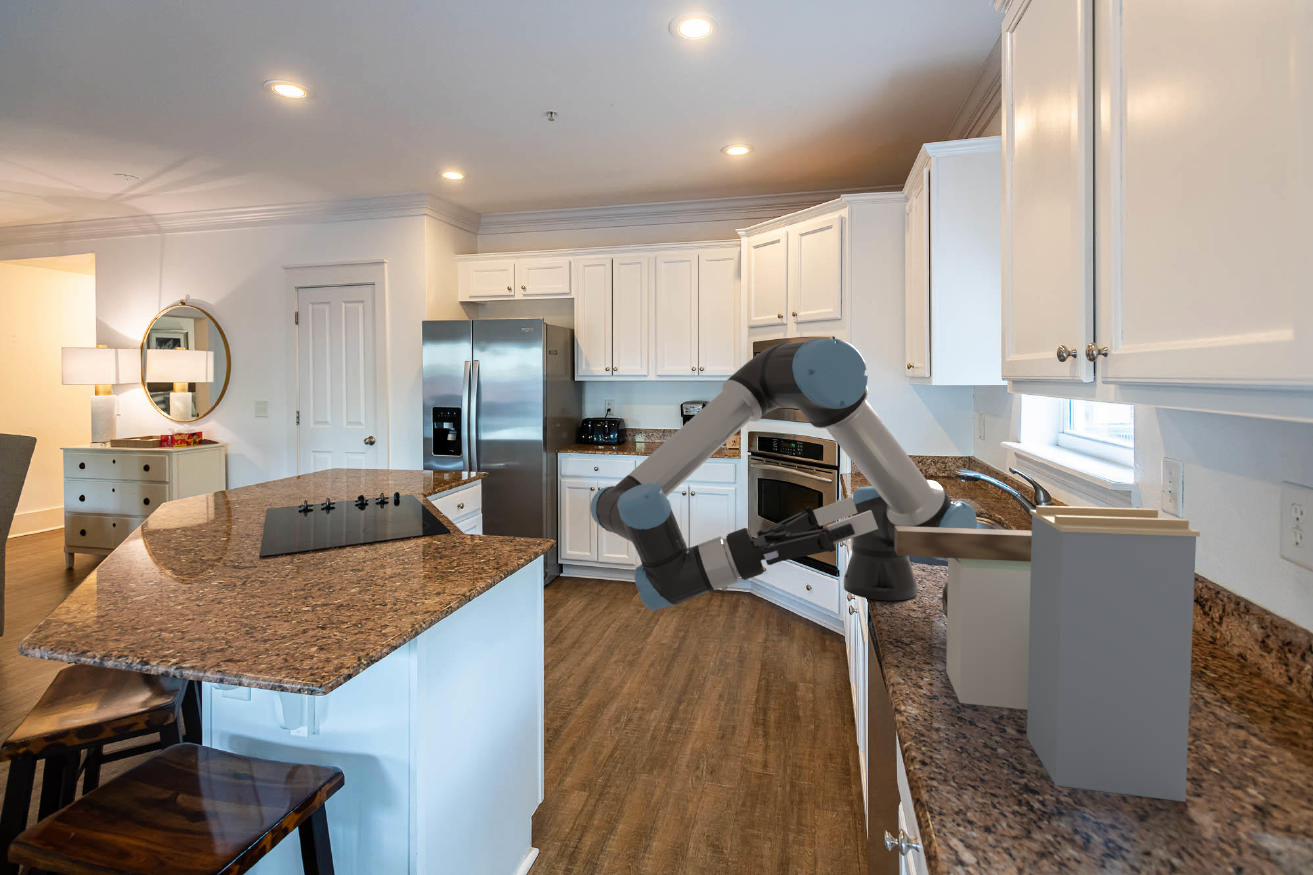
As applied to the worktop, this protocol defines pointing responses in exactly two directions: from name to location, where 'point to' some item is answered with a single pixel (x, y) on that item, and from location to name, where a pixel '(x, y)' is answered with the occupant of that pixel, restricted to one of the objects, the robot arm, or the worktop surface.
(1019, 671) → the felt block
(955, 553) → the walnut block
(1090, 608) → the pillar
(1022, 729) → the worktop surface
